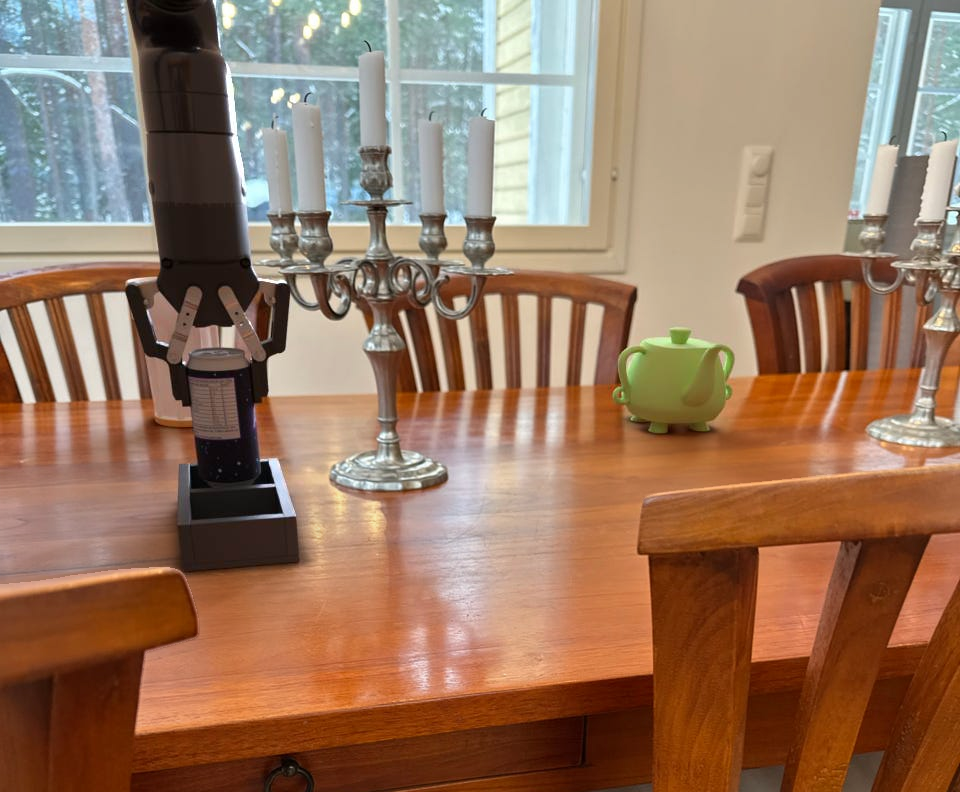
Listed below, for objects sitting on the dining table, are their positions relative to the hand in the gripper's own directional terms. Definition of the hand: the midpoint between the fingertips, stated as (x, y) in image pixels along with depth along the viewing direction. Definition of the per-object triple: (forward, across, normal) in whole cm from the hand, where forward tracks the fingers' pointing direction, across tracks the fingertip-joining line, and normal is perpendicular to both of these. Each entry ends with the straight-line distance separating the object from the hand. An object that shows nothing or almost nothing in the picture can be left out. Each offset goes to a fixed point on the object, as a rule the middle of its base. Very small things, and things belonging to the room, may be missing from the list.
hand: (222, 402), depth 81 cm
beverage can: (+8, 0, 0) cm, 8 cm away
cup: (+11, +4, -41) cm, 42 cm away
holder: (+11, 0, +4) cm, 12 cm away
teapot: (+11, -59, -24) cm, 65 cm away
